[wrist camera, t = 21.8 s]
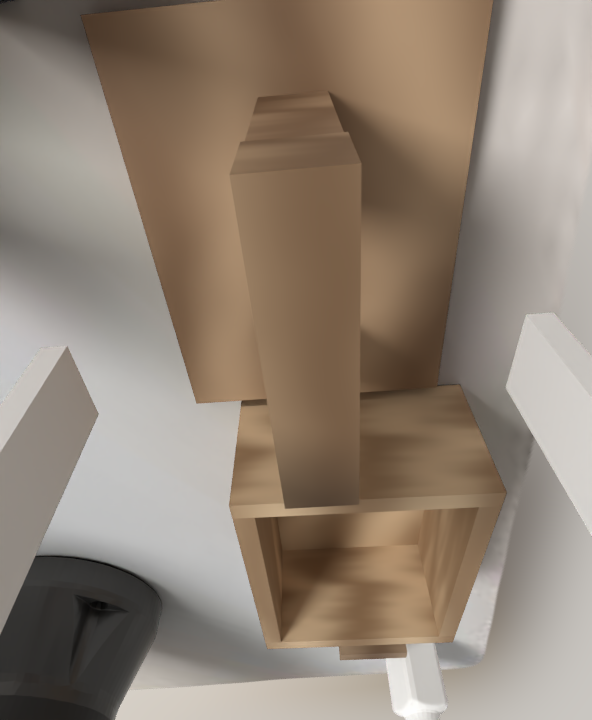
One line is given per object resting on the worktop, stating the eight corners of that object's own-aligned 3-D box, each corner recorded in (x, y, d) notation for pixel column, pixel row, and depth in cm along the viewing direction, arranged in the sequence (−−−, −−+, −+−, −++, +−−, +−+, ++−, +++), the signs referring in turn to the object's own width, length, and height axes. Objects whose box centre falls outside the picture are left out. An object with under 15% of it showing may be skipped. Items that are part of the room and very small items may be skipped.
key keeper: (337, 624, 44) (340, 660, 42) (336, 580, 39) (339, 618, 37) (400, 622, 44) (406, 657, 42) (407, 577, 39) (415, 615, 36)
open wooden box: (270, 548, 36) (267, 648, 30) (242, 396, 26) (229, 505, 20) (427, 541, 35) (452, 642, 30) (459, 384, 25) (506, 492, 20)
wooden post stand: (200, 388, 26) (162, 556, 18) (93, 13, 15) (-104, 33, 8) (431, 372, 25) (493, 538, 18) (484, -28, 15) (694, -50, 7)
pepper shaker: (434, 631, 46) (463, 755, 38) (415, 646, 48) (438, 766, 40) (398, 625, 45) (420, 752, 37) (380, 641, 47) (397, 763, 40)
